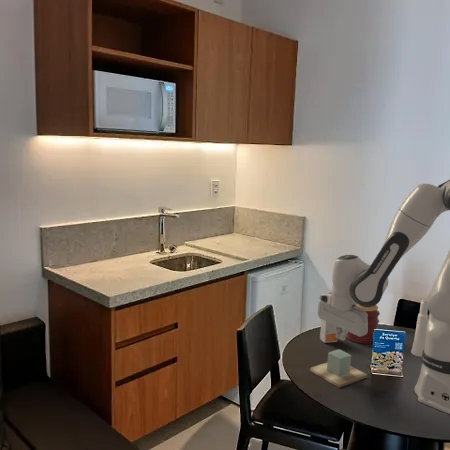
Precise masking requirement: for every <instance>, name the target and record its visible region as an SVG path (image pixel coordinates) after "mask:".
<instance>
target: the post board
mask: <svg viewBox="0 0 450 450" xmlns="http://www.w3.org/2000/svg"><path fill="white" fill-rule="evenodd" d="M327 362H328V361H326V362H324V363H321V364H318V365H315V366H312V367H309V371H310V372H312V373H313V374H315V375H317V376H318V377H320V378H321V379H323V380H325V381H326V382H328V383H330V384H332V385H334V386H335V387H337V388H338V389H339V388H342V387H344V386H345V387H346V386H347V385H350V384H353V383H355V382H358V381H361V380H363V379H366V378H368V374H367V373H365V372H363V371H362V370H359V369H358V368H355V367H354V366H352V365H350V373H347V374H345V375H342V376H339V377H338V376H337V375H335V374H333V373H331V372H330V371H328V370H327Z"/></svg>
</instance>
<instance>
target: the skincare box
mask: <svg viewBox="0 0 450 450" xmlns="http://www.w3.org/2000/svg"><path fill="white" fill-rule="evenodd" d="M320 322H321V323H320V332H319V333H320V334H319V339H320V341H322V342H323V343H326V344H327V343H338V338H336V332H335V330H334V325H333V324H331V323H329V322H327V321H324V320H322V319H321V321H320Z"/></svg>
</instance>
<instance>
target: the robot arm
mask: <svg viewBox="0 0 450 450" xmlns="http://www.w3.org/2000/svg"><path fill="white" fill-rule="evenodd" d="M448 211H450V179H448V180H446V181H445V182H443V183H441V184H438V186H436V185H434V184H430V183H421V184H418V185H416V187H414V189H413V190H412V191H411V192H409V194H408V196H407V197H406V198H405V199H404V201H402V203H401V204H400V207H398V209H397V210H396V212H395V215H394V217H393V218H392V221H391V223H390V226H389V228H388V230H387V234H386V236H385V238H384V242H383V244H382V247H381V248H380V250H379V251H378V253H377V255H376V256H375V258H374V259H373V261H372V263H371V264H369V263H367V262H365V261H364V260H362V259H361V258H360V256H357V255H354V254H345V255H341V256H339V257H338V258H336V259H335V260H334V264H333V268H332V277H331V279H332V287H331V291H330V292H326V293H322V294H320V295H319V297H318V298H319V301H318V308H317V316H318V318H319V319H321V320H324V321H327V322H329V323H331V324H333V325H334V330H335V332H336V338H337V340H340V341H341V342H342V341H346V338H347V337H346V334H347V333H348V332H350V333H353V334H355V335H357V336H359V337H360V336H364V335H366V334H367V332H368V319H367V317H368V315H367V313H366V312H365V310H364V309H362V308H359V307H357V304H359V305H361V306H363V307H372V306H375V305H378V304H379V303H380V301H381V300H382V297H383V295H384V294H385V291H386V289H387V288H388V285H389V279H388V278H389V276H390V275H391V273H392V272H393V270H394V268H395V267H396V266H397V264H398V263H399V261H400V260H401V259H402V258H403V257H404V255H406V254H407V253H408V252H409V251H410V250H411V249H412V248H413V247H414V246H415V245H417V243H419V242H420V241H421V240H422V239H423V237H425V235H426V234H427V233H428V232H429V230H430V228H432V226H433V224H435V223H434V222H435V221H436V220H437V218H438V217H440V215H441V214H443V213H444V212H448ZM426 300H427V303H428V312H429V314H428V324H427V329H426V338H425V347H424V350H423V353H422V357H421V360H420V361H421V368H420V373H419V376H418V379H417V382H416V384H415V386H414V388H413V389H414V393H415V394H416V395H417V401H418V402H420V403H421V404H424V405H426V406H429V407H431V408H433V409H435V410H439V411H441V412H444V413H446V414H448V415H450V249H449V251H448V253H447V255H446V257H445V259H444V262H443V264H442V266H441V267H440V270H439V272H438V274H437V276H436V279H435V281H434V282H433V285H432V288H431V290H430V291H429V293H428V296H427V299H426Z"/></svg>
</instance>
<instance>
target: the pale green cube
mask: <svg viewBox="0 0 450 450" xmlns="http://www.w3.org/2000/svg"><path fill="white" fill-rule="evenodd" d="M351 361H352V354H350V353H348V352H345V351H344V350H342V349H341V348H339V349H334V350H332V351H329V352H328V353H327V361H326V362H327V370H328V371H330V372H331V373H333V374H335V375H337V376H338V377H339V376H342V375H345V374H347V373H350V366H351V363H352V362H351Z"/></svg>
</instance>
